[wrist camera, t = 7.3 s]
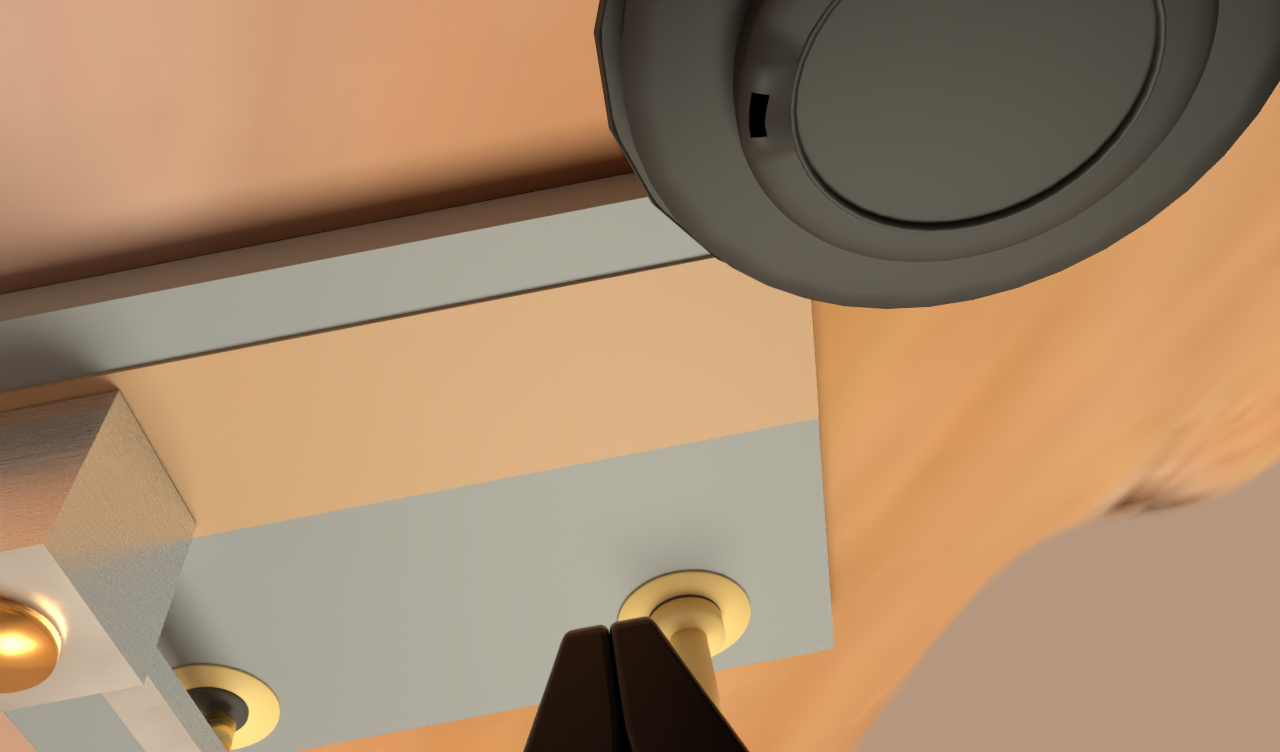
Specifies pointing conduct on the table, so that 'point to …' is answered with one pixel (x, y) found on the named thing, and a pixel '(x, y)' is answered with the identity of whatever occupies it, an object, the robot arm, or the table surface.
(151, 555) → the white block with bar
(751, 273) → the coffee cup
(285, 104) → the table surface
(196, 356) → the jig plate
